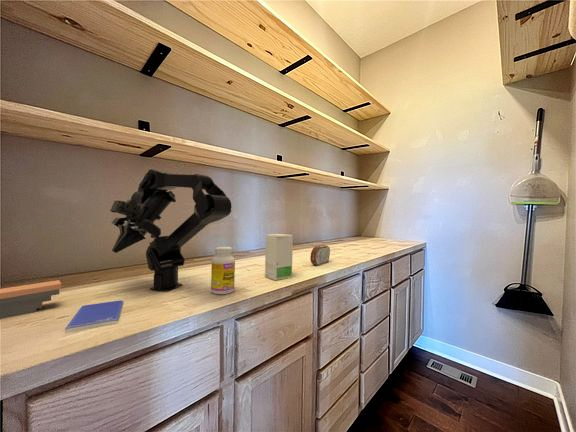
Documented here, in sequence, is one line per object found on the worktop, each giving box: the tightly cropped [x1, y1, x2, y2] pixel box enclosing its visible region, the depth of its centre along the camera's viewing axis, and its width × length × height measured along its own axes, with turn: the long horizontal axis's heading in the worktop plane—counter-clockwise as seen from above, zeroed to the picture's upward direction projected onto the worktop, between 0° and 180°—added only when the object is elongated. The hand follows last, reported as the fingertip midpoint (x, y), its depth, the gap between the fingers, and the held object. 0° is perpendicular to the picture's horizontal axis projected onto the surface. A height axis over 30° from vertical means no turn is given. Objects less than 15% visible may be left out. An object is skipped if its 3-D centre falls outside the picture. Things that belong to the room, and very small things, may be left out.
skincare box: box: [264, 233, 294, 281], centre depth 87 cm, size 8×7×16 cm
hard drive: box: [64, 300, 124, 334], centre depth 53 cm, size 2×8×12 cm
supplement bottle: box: [210, 246, 236, 295], centre depth 71 cm, size 7×7×13 cm
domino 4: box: [0, 308, 38, 320], centre depth 53 cm, size 1×4×10 cm
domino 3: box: [0, 302, 44, 315], centre depth 53 cm, size 1×4×10 cm
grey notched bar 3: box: [0, 296, 52, 310], centre depth 54 cm, size 1×4×10 cm
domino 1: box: [0, 279, 62, 299], centre depth 55 cm, size 1×4×10 cm
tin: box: [309, 244, 331, 266], centre depth 111 cm, size 15×3×8 cm, turn 144°
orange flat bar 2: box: [0, 289, 60, 305], centre depth 55 cm, size 1×4×10 cm
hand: (113, 251), depth 66 cm, fingers closed
